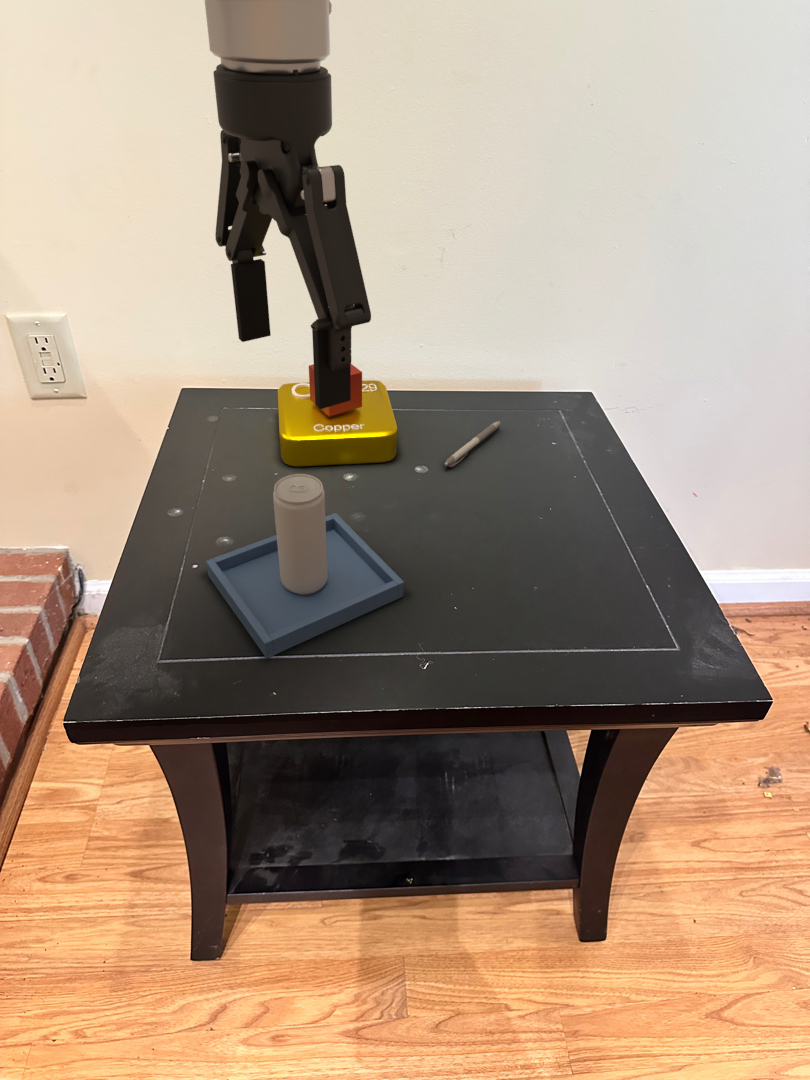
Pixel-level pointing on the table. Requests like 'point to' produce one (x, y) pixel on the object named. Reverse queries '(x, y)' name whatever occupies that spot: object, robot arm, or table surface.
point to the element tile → (336, 428)
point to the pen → (471, 445)
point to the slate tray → (296, 618)
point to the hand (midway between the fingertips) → (291, 368)
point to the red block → (346, 406)
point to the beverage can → (301, 533)
